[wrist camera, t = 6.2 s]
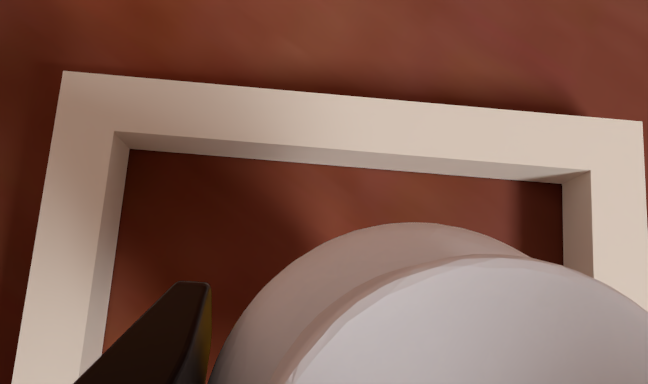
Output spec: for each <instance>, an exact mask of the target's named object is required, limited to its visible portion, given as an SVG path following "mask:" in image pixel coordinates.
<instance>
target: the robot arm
mask: <svg viewBox="0 0 648 384" xmlns="http://www.w3.org/2000/svg"><path fill="white" fill-rule="evenodd" d="M211 334H212V292H211V287H210V285H209V284H208V283H206V282H195V281H178V282H176V283H175V284H173V285H172V286H171V287H170V288H169V289H168V290H167V291H166V292H165V293H164V294H163V295H162V296H161V297H160V298H159V299H158V300H157V301H156V302H155V303H154V304H153V305H152V306H151V307H150V308H149V309H148V310H147V311H146V312H145V313H144V314H143V315H142V316H141V317H140V318H139V319H138V320H137V321H136V322H135V323H134V324H133V325H132V326H131V327H130V328H129V329H128V330H127V331H126V332H125V333H124V334H123V335H122V336H121V337H120V338H119V339H118V340H117V341H116V342H115V343H114V344H113V345H112V346H111V347H110V348H109V349H108V350H107V351H106V352H105V353H104V354H103V355H102V356H101V357H100V358H99V359H98V360H96V361H95V362H94V363H93V364H92V365H91V366H90V367H89V368H88V369H87V370H86V371H85V372H84V373H83V374H82V375H81V376H80V377H79V378H78V379H77V380H76V381H75V382H74V383H73V384H205V380H206V373H207V366H208V360H209V353H210V346H211Z"/></svg>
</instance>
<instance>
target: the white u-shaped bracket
mask: <svg viewBox="0 0 648 384" xmlns="http://www.w3.org/2000/svg"><path fill="white" fill-rule="evenodd" d="M130 149H137V150H150V151H162V152H174V153H187V154H199V155H211V156H224V157H236V158H248V159H261V160H273V161H285V162H298V163H310V164H322V165H335V166H347V167H359V168H371V169H384V170H396V171H408V172H421V173H433V174H445V175H458V176H470V177H482V178H495V179H507V180H519V181H532V182H544V183H556V184H562V209H563V265H564V266H565V267H568V268H570V269H573V270H576V271H578V272H581V273H583V274H585V275H588V276H590V277H592V278H594V279H596V280H599V281H601V282H603V283H605V284H607V285H608V286H610V287H612V288H614V289H615V290H617V291H619V292H620V293H622V294H623V295H625V296H627V297H628V298H630V299H631V300H633V301H634V302H635V303H637V304H638V305H639V306H641V307H642V308H643V309H645V310H646V311H647V312H648V231H647V210H646V189H645V168H644V146H643V125H642V122H641V121H629V120H618V119H607V118H595V117H584V116H573V115H561V114H550V113H538V112H527V111H516V110H504V109H493V108H482V107H470V106H459V105H447V104H436V103H425V102H413V101H402V100H390V99H379V98H368V97H356V96H345V95H334V94H322V93H311V92H299V91H288V90H277V89H265V88H254V87H242V86H231V85H220V84H208V83H197V82H186V81H174V80H163V79H151V78H140V77H129V76H117V75H106V74H95V73H83V72H72V71H63V75H62V81H61V87H60V93H59V99H58V105H57V111H56V117H55V123H54V129H53V135H52V141H51V147H50V153H49V159H48V165H47V171H46V177H45V183H44V189H43V196H42V202H41V208H40V214H39V220H38V226H37V232H36V238H35V244H34V250H33V256H32V262H31V268H30V274H29V280H28V286H27V292H26V298H25V304H24V310H23V316H22V323H21V329H20V335H19V341H18V347H17V353H16V359H15V365H14V371H13V377H12V383H11V384H73V383H74V382H75V381H76V380H77V379H78V378H79V377H80V376H81V375H82V374H83V373H84V372H85V371H86V370H87V369H88V368H89V367H90V366H91V365H92V364H93V363H94V362H95V361H96V360H98V359H99V358H100V357H101V355H102V348H103V340H104V333H105V326H106V319H107V311H108V304H109V297H110V289H111V282H112V275H113V267H114V260H115V253H116V245H117V238H118V231H119V224H120V216H121V209H122V202H123V194H124V187H125V180H126V172H127V165H128V158H129V150H130Z"/></svg>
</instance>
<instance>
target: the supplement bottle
mask: <svg viewBox="0 0 648 384" xmlns="http://www.w3.org/2000/svg"><path fill="white" fill-rule="evenodd" d="M208 384H648V312H647V311H646V310H645V309H643V308H642V307H641V306H639V305H638V304H637V303H635V302H634V301H633V300H631V299H630V298H628V297H627V296H625V295H623V294H622V293H620V292H619V291H617V290H615V289H614V288H612V287H610V286H608V285H607V284H605V283H603V282H601V281H599V280H596V279H594V278H592V277H590V276H588V275H585V274H583V273H581V272H578V271H576V270H573V269H570V268H568V267H565V266H562V265H559V264H555V263H551V262H547V261H543V260H539V259H535V258H531V257H529V256H527V255H526V254H524V253H522V252H520V251H518V250H517V249H515V248H513V247H511V246H509V245H507V244H505V243H503V242H500V241H498V240H496V239H494V238H491V237H489V236H486V235H484V234H481V233H477V232H474V231H471V230H467V229H464V228H459V227H453V226H447V225H441V224H436V223H416V222H411V223H392V224H384V225H379V226H373V227H369V228H365V229H360V230H356V231H353V232H350V233H347V234H345V235H342V236H339V237H336V238H334V239H332V240H329V241H327V242H325V243H323V244H321V245H320V246H318V247H316V248H314V249H313V250H311V251H309V252H308V253H306V254H304V255H303V256H301V257H300V258H298V259H296V260H295V261H293V262H292V263H291V264H290V265H288V266H287V267H286V268H284V269H283V270H282V271H281V272H280V273H279V274H278V275H276V276H275V277H274V278H273V279H272V280H271V281H270V282H269V283H268V284H266V285H265V286H264V287H263V289H262V290H261V291H260V292H259V293H258V294H257V295H256V297H255V298H254V299H253V300H252V302H251V303H250V304H249V305H248V307H247V308H246V309H245V311H244V312H243V314H242V315H241V317H240V318H239V319H238V321H237V322H236V324H235V325H234V327H233V329H232V330H231V332H230V334H229V336H228V337H227V339H226V341H225V343H224V345H223V347H222V349H221V351H220V353H219V355H218V358H217V360H216V362H215V365H214V368H213V370H212V373H211V376H210V378H209V381H208Z"/></svg>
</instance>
